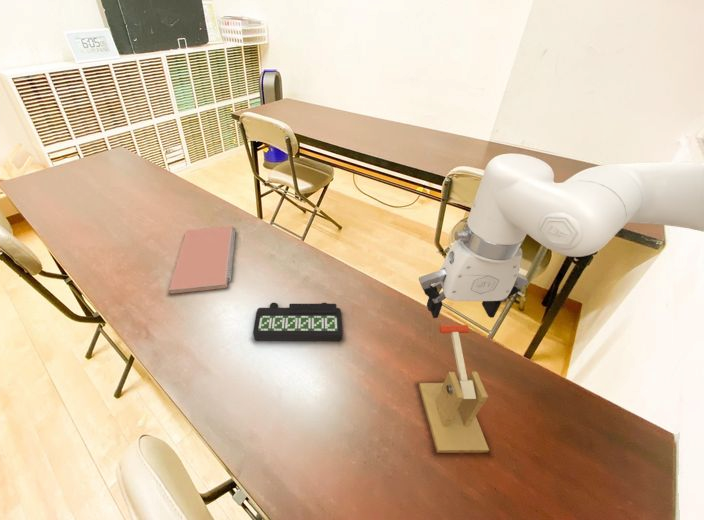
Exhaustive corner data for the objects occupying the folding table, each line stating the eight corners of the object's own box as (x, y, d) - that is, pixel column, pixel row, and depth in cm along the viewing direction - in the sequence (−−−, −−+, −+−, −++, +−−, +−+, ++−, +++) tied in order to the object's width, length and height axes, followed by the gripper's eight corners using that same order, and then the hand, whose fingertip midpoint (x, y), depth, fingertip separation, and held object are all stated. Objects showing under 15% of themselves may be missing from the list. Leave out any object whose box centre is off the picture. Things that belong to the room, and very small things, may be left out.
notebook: (230, 287, 91) (229, 283, 90) (170, 294, 90) (168, 289, 89) (236, 229, 113) (235, 224, 112) (187, 233, 112) (186, 229, 111)
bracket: (418, 385, 68) (430, 352, 60) (461, 385, 68) (479, 351, 60) (436, 452, 58) (454, 422, 51) (487, 452, 58) (512, 422, 50)
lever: (437, 325, 62) (442, 324, 60) (463, 325, 62) (469, 324, 59) (449, 397, 57) (455, 399, 55) (478, 397, 57) (484, 398, 55)
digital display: (339, 299, 83) (342, 334, 75) (339, 307, 85) (342, 342, 77) (258, 299, 83) (252, 334, 76) (259, 307, 85) (254, 341, 78)
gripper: (440, 256, 44) (416, 330, 55) (567, 254, 44) (519, 329, 54) (424, 223, 50) (406, 295, 61) (536, 221, 50) (498, 294, 60)
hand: (459, 311), depth 57 cm, fingers open, 9 cm apart
